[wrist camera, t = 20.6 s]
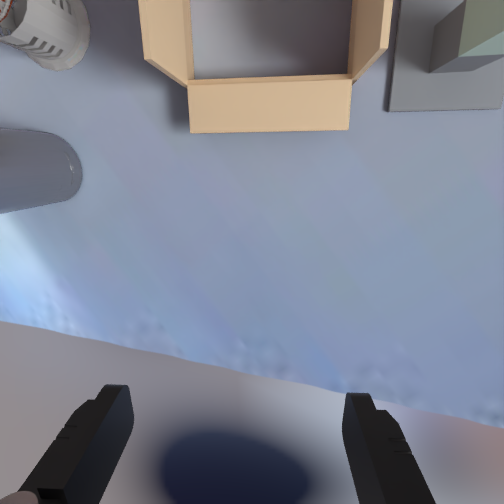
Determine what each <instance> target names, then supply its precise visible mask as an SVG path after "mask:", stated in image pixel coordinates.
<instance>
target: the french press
mask: <svg viewBox="0 0 504 504" xmlns="http://www.w3.org/2000/svg"><path fill="white" fill-rule="evenodd" d="M13 1H14V2H15V3H14V9H13V8H11V5H12V0H0V26H1V28H2V32H3V34H4V35H5V36H4V37H2V35H1V34H0V42H2V43H5V42H6V43H5V44H7V45H10V46H12V47H15V48H16V47H17V49H20V50H22V51H24V50H25V52H26V53H27V55H28V56H29V57H30V58H31V59H32V60H34V61H35V62H36V63H37V64H39V65H40V66H41V67H43V68H46V69H50V70H54V71H62V70H67V69H71V68H72V67H74V66H75V65H76V64H77V63H78V62H80V61H81V60H82V59H83V57H84V54H85V52H86V50H87V48H88V46H89V39H90V23H89V19H88V15H87V11H86V7H85V6H84V4H83V2H82V1H81V0H13ZM7 29H8V30H10V31H11V35H8V32H7ZM12 44H13V45H12ZM17 45H18V46H17ZM21 48H22V49H21Z"/></svg>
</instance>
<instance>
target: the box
mask: <svg viewBox="0 0 504 504" xmlns="http://www.w3.org/2000/svg"><path fill="white" fill-rule="evenodd" d="M502 57H504V0H464V1H463V2H462V3H461V4H460V5H458V6H457V7H456V8H455V9H454V10H453V11H451V12H450V13H449V14H448V15H447V16H446V17H444V18H443V19H442V20H441V21H440V22H439V23H438V24H436V25H435V27H434V35H433V43H432V51H431V58H430V66H429V74H431V73H449V72H467V71H474V70H476V69H478V68H480V67H482V66H485V65H487V64H489V63H491V62H494V61H496V60H498V59H500V58H502Z"/></svg>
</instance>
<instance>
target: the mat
mask: <svg viewBox="0 0 504 504" xmlns="http://www.w3.org/2000/svg"><path fill="white" fill-rule="evenodd" d="M463 1H464V0H400V7H399V16H398V25H397V34H396V43H395V52H394V61H393V70H392V79H391V88H390V97H389V106H388V112H410V111H448V110H486V109H500V108H501V105H502V101H503V96H504V57H502V58H500V59H498V60H496V61H494V62H491V63H489V64H487V65H485V66H482V67H480V68H478V69H476V70H474V71H467V72H449V73H431V74H429V66H430V58H431V51H432V43H433V35H434V27H435V25H436V24H438V23H439V22H440V21H441V20H442V19H443V18H444V17H446V16H447V15H448V14H449V13H450V12H451V11H453V10H454V9H455V8H456V7H457V6H458V5H460V4H461V3H462V2H463Z"/></svg>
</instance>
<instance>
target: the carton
mask: <svg viewBox="0 0 504 504" xmlns="http://www.w3.org/2000/svg"><path fill="white" fill-rule="evenodd" d="M138 4H139V13H140V23H141V33H142V42H143V52H144V60H146V61H147V62H149V63H150V64H151V65H153V66H154V67H156V68H157V69H159V70H160V71H162V72H163V73H164V74H166V75H167V76H169V77H170V78H172V79H173V80H175V81H176V82H177V83H179V84H180V85H182V86H183V87H185V88H186V89H187V90H188V104H189V119H190V133H235V132H282V131H330V130H348V128H349V115H350V102H351V89H352V85H353V84H354V83H355V82H356V81H357V80H358V79H359V78H360V77H361V76H362V75H363V73H364V72H365V71H366V70H367V69H368V68H369V67H370V66H371V65H372V64H373V63H374V62H375V61H376V60H377V59H378V58H379V57H380V56H381V55H382V54H383V53H384V52H385V51H386V50H387V49H388V43H389V33H390V24H391V14H392V5H393V0H352V13H351V27H350V41H349V54H348V68H347V74H330V75H304V76H279V77H253V78H227V79H202V80H195V78H194V61H193V45H192V29H191V13H190V0H138Z"/></svg>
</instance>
